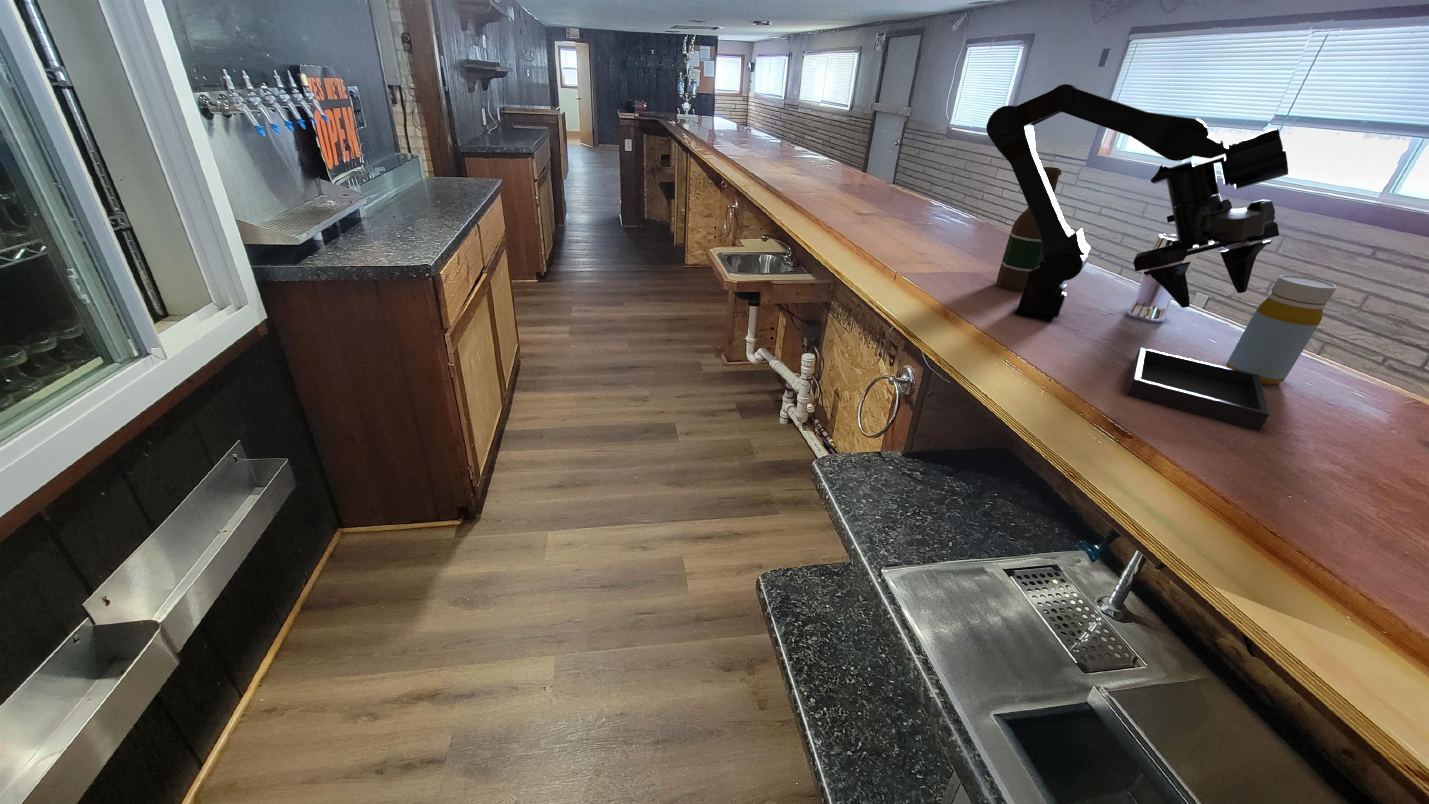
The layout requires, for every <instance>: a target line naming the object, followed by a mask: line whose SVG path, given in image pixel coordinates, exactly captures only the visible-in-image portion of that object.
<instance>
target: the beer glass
mask: <svg viewBox="0 0 1429 804" xmlns="http://www.w3.org/2000/svg"><path fill="white" fill-rule="evenodd" d="M1177 240H1178V237H1177V234H1172V233H1160V234H1158V235H1157V238H1156V240H1155V241H1154V243H1153V245H1152V246H1151V249H1150V250H1153V249H1157V248H1161V247H1165V246H1169V245H1172V242H1173V241H1177ZM1196 246H1198V244H1195V245H1193V247H1196ZM1198 255H1199V253H1196V254H1192V255H1189V256H1186V258H1185V259H1184V261H1182V262H1183V263H1185V262H1191V263H1190V265H1189V267H1188V269H1187V271H1186V278H1187V277H1189V275H1190V272H1191V271H1192V269H1193V267H1194V265H1195V262H1196V260H1197V257H1198ZM1149 270H1150V269H1145V270H1142V273H1141V278H1140V282H1139V287H1138V291H1137V294H1136V297H1135V299H1134V300H1133V302H1132V304H1131V305H1130V306H1129V308H1128V310H1127V312H1126V313H1127V315H1128V316H1129V317H1131V318H1134V319H1136V320H1140V321H1144V322H1150V323H1162V322H1164V321H1165V319H1166V316H1167V311H1168V308H1169V305H1170V303H1171V301H1172V299H1173V297H1172V296H1171V295H1170V294H1169V293H1168V292H1167V291H1166V290H1165V289H1164V287H1163V286H1162V285H1160V284H1159V283H1158V282H1157V281H1156V280H1155V279H1154V278H1153V277H1151V276H1150V275H1149V274H1147V275H1144V273H1143V272H1145V271H1149Z"/></svg>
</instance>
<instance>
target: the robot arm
mask: <svg viewBox="0 0 1429 804" xmlns="http://www.w3.org/2000/svg"><path fill="white" fill-rule="evenodd" d="M1060 113H1063V114H1067V115H1069V116H1072V117H1074V118H1077V119H1081V120H1084V121H1086V122H1089V123H1092V124H1094V125H1097V126H1100V127H1103V128H1106V129H1109V130H1112V131H1115V132H1117V133H1121V134H1123V135H1126V136H1129V137H1131V138H1133V139H1134V140H1136V141H1138V142H1139V143H1141V144H1142V145H1143V146H1146V147H1147V148H1149V150H1151V151H1152V152H1155V153H1156V154H1158V155H1160V156H1162V157H1163V158H1164V159H1167V160H1169V161H1174V162H1181V161H1185V160H1188V159H1191V158H1193V157H1198V158H1204V159H1212V160H1209V161H1207V162H1204V163H1199V164H1197V165H1194V161H1193V160H1189V161H1186V162H1183V163H1180V164H1177V165H1174V166H1171V167H1167V166H1165V164H1161V165H1160V166H1159V167H1158V169H1157V172H1156V173H1155V174H1154V176H1153V177H1152V178H1151V179H1150V183H1151V184H1152V185H1156V184H1157V185H1158V184H1160V183H1164V182H1166V184H1167V189H1168V195H1169V200H1170V205H1171V210H1172V214H1171V215H1168V216H1166V221H1167V224H1168V223H1172V222H1174V227H1175V232H1176V235H1177V237H1178V240H1177V241H1173V242H1172V245H1169V246H1165V247H1161V248H1157V249H1153V250H1151V249H1148V250H1146V251H1142V252H1141V251H1140V252H1138V253H1136V255H1135V257H1134V259H1133V266H1134V271H1135V272H1140V271H1142V273H1144V275H1147V274H1149V275H1150V276H1151V277H1153V278H1154V279H1155V280H1156V281H1157V282H1158V283H1159V284H1160V285H1162V286H1163V287H1164V289H1165V290H1166V291H1167V292H1168V293H1169V294H1170V295H1171V296H1172V299H1173V300H1174V301H1175V302H1176V303H1177V304H1178V306H1180V307H1181V308H1182V309H1184V308H1189V307H1190V306H1191V305H1190V301H1191V300H1190V292H1189V287H1188V281H1187V277H1186V271H1187V269H1188V267H1189V265H1190V263H1191V262H1185V263H1183V262H1182V261H1184V259H1185V258H1186V256H1189V255H1192V254H1196V253H1198V254H1200V253H1204V252H1207V251H1211V250H1214V249H1218V248H1224V249H1226V250H1221V251H1219V253H1220V256H1221V259H1222V261H1223V264H1224V266H1225V268H1226V271H1227V274H1228V276H1229V279H1230V281H1231V283H1232V285H1233V287H1234V289H1235V291H1236V292H1237V293H1238V294H1242V293H1243V294H1244V293H1246V292H1247V290H1248V287H1249V282H1250V278H1251V275H1252V272H1253V269H1254V264H1255V262H1256V259H1257V256H1258V254H1259V253H1261V251H1263V249H1265V247H1267V246H1268V245H1271V243H1272V242H1273V240H1272V238H1275V237H1279V236H1280V231H1279V225H1278V222H1276V221H1275V219H1276V215H1275V214H1276V209H1275V207H1274V202H1273V200H1270V199H1260V200H1256V201H1253V202H1251V203H1249V204H1248V206H1247V207H1242V208H1233V205H1232V202H1231V201H1230V199H1229V198H1227V199H1224V200H1223V199H1222V198H1221V195H1220V187H1219V184H1218V177H1217V172H1216V167H1215V166H1216V165H1220V169H1221V174H1222V179H1223V186H1224V187H1225V186H1226V187H1227V186H1229V185H1230V187H1231V186H1234V189H1235V190H1240V189H1243V188H1246V187H1250V186H1253V185H1254V186H1255V185H1256V184H1257V185H1258V184H1260V183H1264V182H1268V181H1270V180H1273V179H1277V178H1281V177H1284V176H1288V175H1289V165H1288V156H1287V151H1286V150H1285V149H1284V145H1283V142H1282V139H1281V135H1280V129H1278V128H1276V127H1274V128H1271V129H1268V130H1266V131H1264V132H1262V133H1259V134H1257V135H1255V136H1253V137H1249V138H1246V139H1243V140H1240V141H1238V142H1234V143H1231V144H1228V145H1227V144H1225V142H1224V140H1223V139H1222V140H1218V139H1216V138H1215V137H1212V136H1211V135H1209V130H1208V126H1207V124H1206V123H1205V122H1204V121H1203V120H1201V119H1199V118H1195V117H1188V116H1181V115H1174V114H1173V115H1172V114H1167V113H1166V114H1165V113H1158V112H1150V111H1146V110H1143V109H1141V108H1137V107H1134V106H1131V105H1129V104H1125V103H1122V102H1119V101H1117V100H1113V99H1110V98H1107V97H1104V96H1101V95H1099V94H1096V93H1092V92H1089V91H1086V90H1082V89H1080V88H1079V87H1077V86H1076V85H1074V84H1067V83H1063V84H1059V85H1058V86H1056V87H1055V88H1054V89H1052V90H1051V89H1050V90H1049V91H1047V92H1045V93H1043V94H1041V95H1038V96H1036V97H1034V98H1031V99H1029V100H1027V101H1025V102H1022V103H1020V104H1017V105H1016V104H1014V105H1012V104H1009V105H1003V106H1001V107H999V108H997V109H996V110H994V111H993V112H992V114H991V115H990V116H989V117H988V121H987V124H986V127H985V128H986V133H987V136H988V137H989V139H990V140H991V142H992V143H993V145H994V146H995V148H996V149H997V150H998V151H999V153H1000V154H1001V155H1002V156H1003V157H1004V158H1005V159H1006V161H1007V162H1008V163H1009V164H1010V166H1011V168H1012V171H1013V173H1014V176H1015V178H1016V181H1017V183H1018V186H1019V187H1020V191H1021V192H1022V195H1023V197H1024V199H1025V202H1026V204H1027V208H1028V207H1029V209H1030V211H1031V214H1032V216H1033V218H1034V221H1035V223H1036V225H1037V228H1038V230H1039V233H1040V235H1041V245H1042V255H1043V260H1044V261H1042V262H1041V263H1039V264H1037V265H1036V266H1035V267H1034V268H1033V269H1032V270H1031V271H1030V272H1029V273H1028V280H1027V281H1026V284H1025V287H1024V290H1023V292H1021V293H1022V294H1021V297H1020V299H1019V302H1018V306H1017V308H1016V309H1015V310H1014V314H1015V315H1018V316H1023V317H1027V318H1030V319H1031V318H1032V319H1036V320H1040V321H1044V322H1048V323H1052V322H1053V321H1054V320H1055V319H1056V318H1058V317H1059V315H1060V313H1061V311H1062V308H1063V306H1064V303H1065V300H1066V297H1067V292H1065V290H1066V287H1067V284H1066V283H1064V282H1066V281H1071V280H1072V279H1074V278H1076V277H1077V276H1078V275H1079V274H1080V273H1081V272H1082V270H1083V269H1084V267H1085V266H1086V264H1087V262H1088V260H1089V251H1090V250H1091V246H1090V245H1089V244H1088V243H1087V242H1086V240H1085V236H1084V230H1083V228H1081V227H1080V228H1078V229H1077V230H1075V231H1074V230H1073V229H1071V227H1070V226H1069V225H1068V224H1067V222H1066V220H1065V219H1064V216H1063V214H1062V211H1061V209H1060V206H1059V203H1058V202H1057V199H1056V197H1055V193H1054V194H1053V192H1052V189H1051V187H1050V185H1049V182H1048V180H1047V177H1046V175H1045V173H1044V170H1043V168H1044V167H1043V165H1042V163H1041V160H1040V159H1039V156H1038V153H1037V151H1036V140H1035V131H1034V126H1035V125H1037V124H1040V123H1042V122H1044V121H1046V120H1048V119H1050V118H1052V117H1054V116H1056V115H1059V114H1060ZM1223 155H1224V156H1223ZM1220 156H1223V157H1220ZM1216 157H1219V158H1216ZM1214 158H1216V159H1214ZM1213 159H1214V160H1213ZM1268 239H1269V240H1268ZM1264 240H1265V241H1264ZM1209 241H1211V242H1209ZM1195 244H1198V246H1196V247H1193V245H1195ZM1145 269H1150V270H1149V271H1145V272H1143V270H1145Z"/></svg>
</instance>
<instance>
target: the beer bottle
mask: <svg viewBox="0 0 1429 804" xmlns="http://www.w3.org/2000/svg"><path fill="white" fill-rule="evenodd" d="M1042 168H1043V170H1044V173H1045V175H1046V177H1047V180H1048V182H1049V185H1050V187H1051V189H1052V192H1053V194H1054V195H1055V192H1056V188H1057V185H1058V181H1059V177H1060V176H1062V169H1061V168H1059V167H1053V166H1044V167H1042ZM1007 239H1008V240H1007V243H1006V247H1005V250H1004V252H1003V257H1002V260H1001V262H1000V263H1001V264H1000V267H999V270H998V274H997V278H996V284H997V285H998V286H999V288H1001V289H1006V290H1008V291H1012V292H1021V293H1023V290H1024V287H1025V284H1026V281H1027V280H1028V273H1029V272H1030V271H1031V270H1032V269H1033V268H1034V267H1035V266H1036V265H1037V264H1039V263H1041V262H1042V261H1044V260H1043V255H1042V245H1041V235H1040V233H1039V230H1038V228H1037V225H1036V223H1035V221H1034V218H1033V216H1032V214H1031V211H1030V209H1029V207H1028V206H1027V208H1026V209H1025V210H1024V211H1022V212H1021V214H1020V215H1019V216H1018V217H1017V219H1016V220H1015V221H1014V223H1013V225H1012V227H1011V230H1010V233H1009V236H1008V238H1007Z"/></svg>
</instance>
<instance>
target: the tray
mask: <svg viewBox="0 0 1429 804" xmlns="http://www.w3.org/2000/svg"><path fill="white" fill-rule="evenodd" d="M1136 353H1137V354H1136V355H1135V358H1134V359H1133V362H1132V363H1133V364H1132V368H1131V373H1130V376H1129V377H1130V378H1129V382H1128V386H1127V392H1126V396H1129V397H1133V398H1137V399H1140V400H1143V401H1148V402H1151V403H1155V404H1159V405H1161V406H1166V407H1170V408H1173V409H1177V410H1181V411H1184V412H1187V413H1191V414H1195V415H1199V416H1202V417H1206V418H1209V419H1213V420H1217V421H1221V422H1224V423H1228V424H1232V425H1235V426H1238V427H1242V428H1247V429H1250V430H1254V431H1257V432H1260V431H1261V430H1262V428H1263V426H1264V425H1265V423H1266V421H1267V419H1268V418H1269V417H1270V412H1269V408H1268V404H1267V401H1266V400H1267V399H1266V396H1265V393H1264V389H1263V388H1264V387H1263V384H1261V380H1260V376H1259V375H1256V374H1252V373H1248V372H1244V371H1240V370H1236V369H1231V368H1227V366H1223V365H1218V364H1214V363H1209V362H1206V361H1202V360H1196V359H1193V358H1189V357H1184V356H1180V355H1175V354H1172V353H1167V352H1162V351H1160V350H1159V351H1158V350H1154V349H1150V348H1145V347H1142V346H1140V347H1139V349H1138V351H1137V352H1136Z"/></svg>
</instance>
